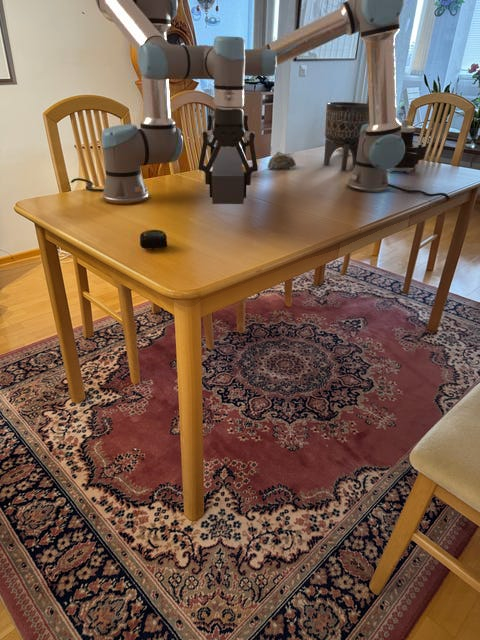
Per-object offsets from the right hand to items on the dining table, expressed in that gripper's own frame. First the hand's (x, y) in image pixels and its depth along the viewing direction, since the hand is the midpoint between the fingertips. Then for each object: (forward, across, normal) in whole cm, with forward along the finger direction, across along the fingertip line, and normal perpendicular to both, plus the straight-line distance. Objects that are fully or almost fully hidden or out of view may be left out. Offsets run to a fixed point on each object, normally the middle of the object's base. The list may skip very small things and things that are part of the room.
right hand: (228, 166), depth 162 cm
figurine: (+11, +62, +80) cm, 102 cm away
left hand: (0, 0, -41) cm, 41 cm away
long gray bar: (0, 0, -20) cm, 20 cm away
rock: (+10, +25, +44) cm, 51 cm away
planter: (+10, +53, +48) cm, 72 cm away
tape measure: (+9, -19, -56) cm, 60 cm away
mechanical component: (+11, +81, +47) cm, 94 cm away
